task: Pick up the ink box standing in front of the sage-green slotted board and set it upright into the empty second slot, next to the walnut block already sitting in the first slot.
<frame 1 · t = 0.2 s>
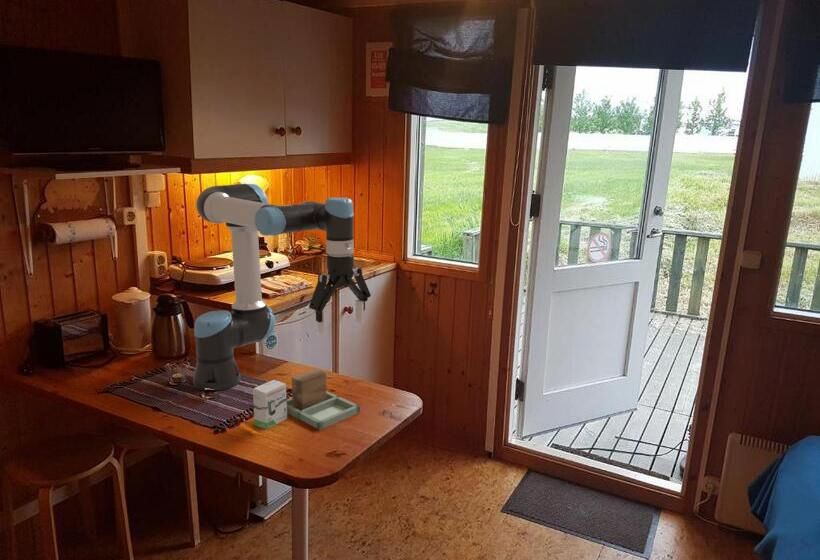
hand: (341, 327, 172), 27 cm above the table, fingers open, 13 cm apart
ink box: (271, 424, 173), on the table
slot board: (319, 412, 180), on the table
walnut block: (309, 405, 183), point 1 cm above the table, touching slot board
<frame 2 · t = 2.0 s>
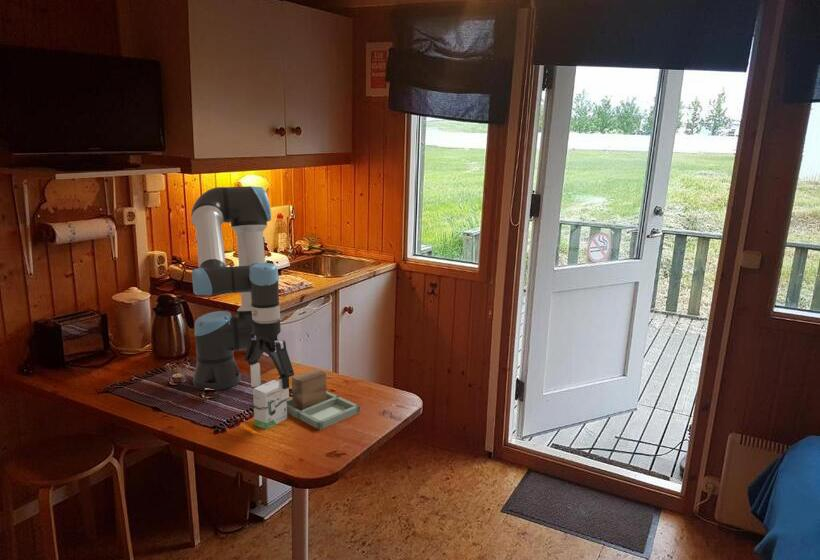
hand: (269, 392, 170), 10 cm above the table, fingers open, 13 cm apart
nothing on the table moved.
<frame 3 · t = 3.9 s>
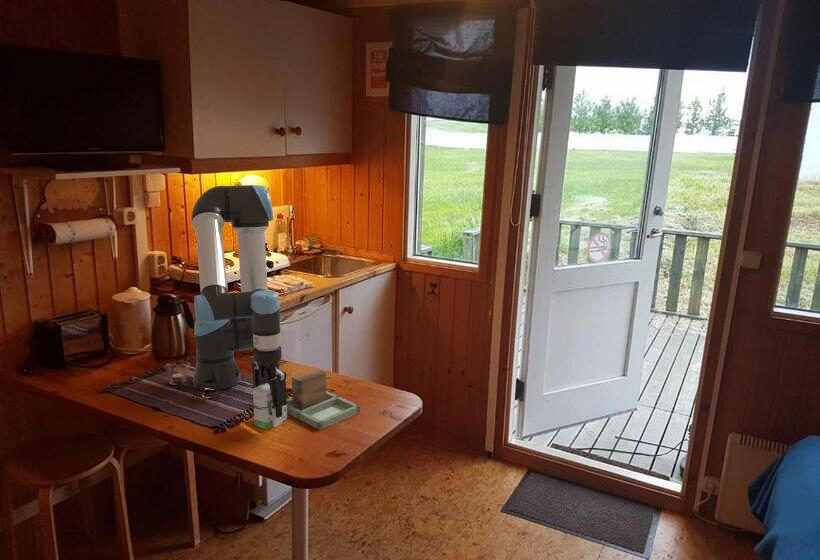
hand: (271, 422, 173), 0 cm above the table, fingers closed on ink box, 5 cm apart
ink box: (271, 424, 173), on the table, touching gripper
everything else where it was.
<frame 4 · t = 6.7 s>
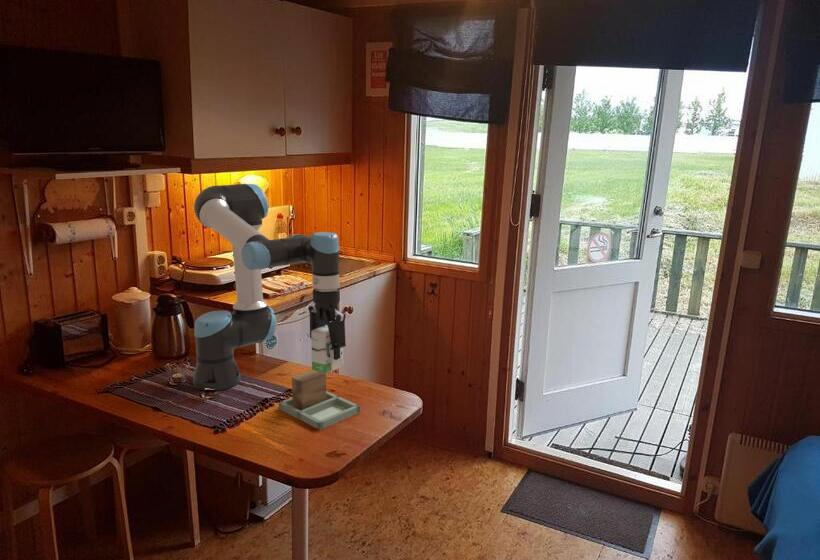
hand: (328, 366, 173), 16 cm above the table, fingers closed on ink box, 5 cm apart
ink box: (327, 368, 173), point 16 cm above the table, touching gripper
everything else where it was.
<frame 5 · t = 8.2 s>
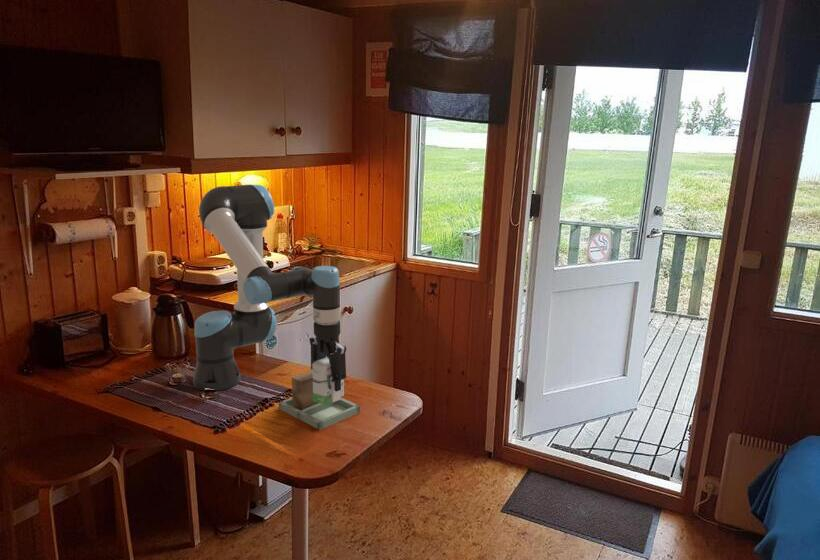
hand: (328, 397, 175), 7 cm above the table, fingers closed on ink box, 5 cm apart
ink box: (328, 399, 175), point 6 cm above the table, touching gripper
everything else where it was.
when the fingers open (4 cm above the table, at t = 9.5 s): ink box drops 2 cm, resting on slot board.
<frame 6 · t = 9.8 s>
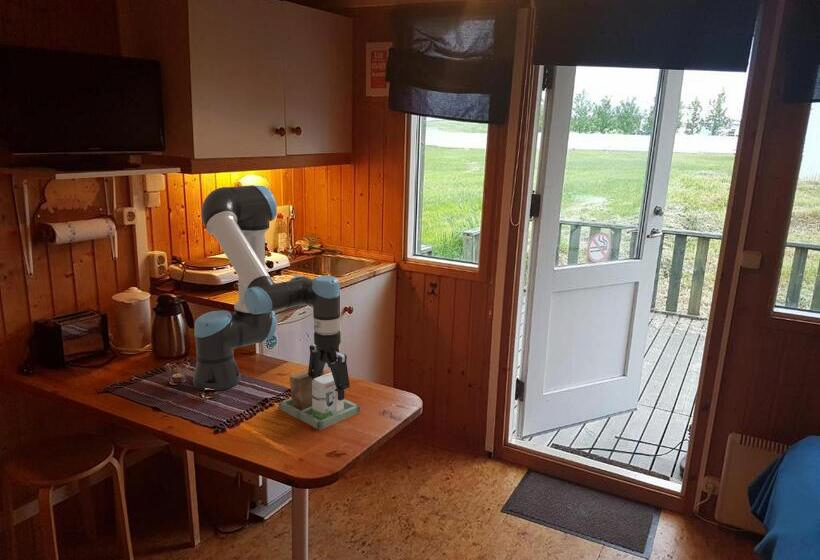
hand: (329, 404, 176), 4 cm above the table, fingers open, 8 cm apart
ink box: (328, 415, 177), point 1 cm above the table, touching slot board
walnut block: (309, 405, 183), point 1 cm above the table, tilted 6°, touching gripper, slot board
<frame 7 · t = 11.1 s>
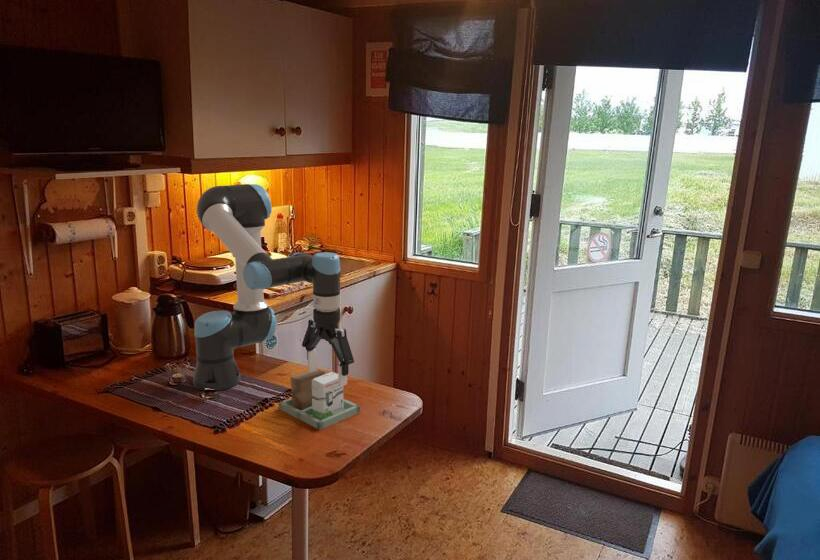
hand: (327, 378, 174), 12 cm above the table, fingers open, 13 cm apart
walnut block: (309, 405, 183), point 1 cm above the table, touching slot board
everything else where it was.
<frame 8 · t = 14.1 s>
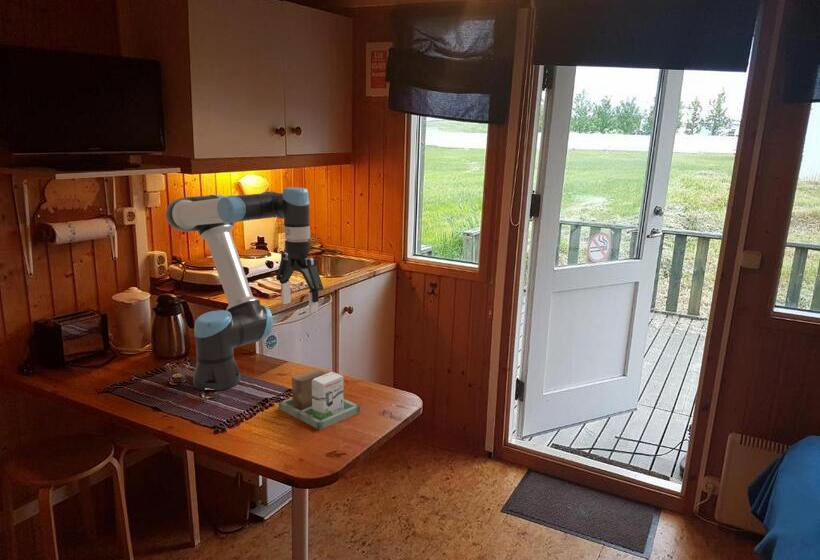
hand: (299, 307, 186), 29 cm above the table, fingers open, 13 cm apart
nothing on the table moved.
at the end: ink box inside the target area on the slot board (0.3 cm from its centre), point 0.6 cm above the slot board's base; ink box tilted 0°; walnut block moved 0.0 cm from its start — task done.
